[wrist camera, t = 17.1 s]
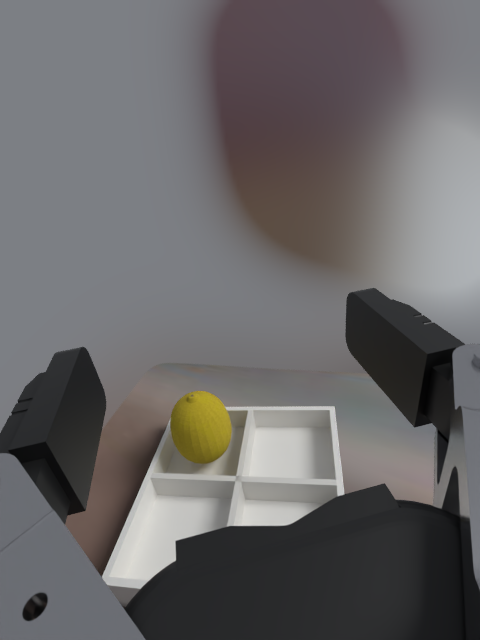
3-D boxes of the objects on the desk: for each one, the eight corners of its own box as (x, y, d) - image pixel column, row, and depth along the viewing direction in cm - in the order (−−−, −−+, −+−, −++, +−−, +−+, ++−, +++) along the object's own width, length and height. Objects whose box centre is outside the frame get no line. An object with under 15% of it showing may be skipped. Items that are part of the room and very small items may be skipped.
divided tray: (357, 635, 21) (357, 613, 20) (113, 605, 25) (98, 584, 23) (335, 428, 36) (334, 406, 34) (181, 427, 39) (175, 407, 38)
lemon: (171, 472, 33) (147, 410, 29) (200, 429, 38) (183, 371, 34) (221, 489, 31) (203, 425, 27) (246, 442, 35) (233, 380, 31)
